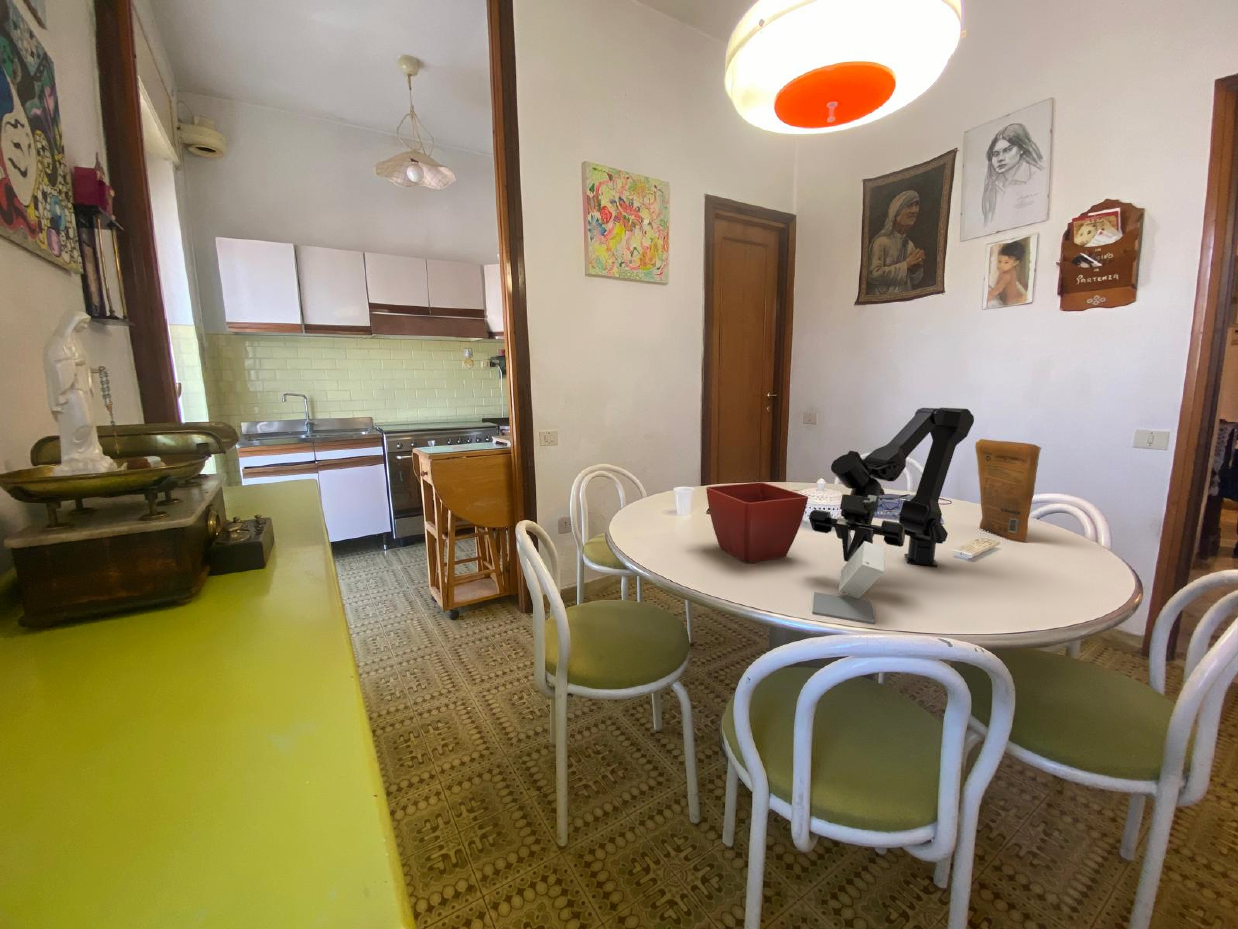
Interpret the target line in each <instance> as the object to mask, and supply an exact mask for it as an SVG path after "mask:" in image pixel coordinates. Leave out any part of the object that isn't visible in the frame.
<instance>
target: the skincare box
mask: <svg viewBox="0 0 1238 929" xmlns="http://www.w3.org/2000/svg"><path fill="white" fill-rule="evenodd" d="M885 555H886V548H885V547H883V546H881V545H877V544H875V543H873V544H872V543H869V542H866V541H864V542H863V544H862V545H861V546H860V547H859V548H858V550H857V551H856V552H855V553H854V555H853V556H852V557H851V558H850V560H849V561H848V562H847V561H846V563H845V565H844V566H843V567H842V568H841V570H840V576H839V586H838V593H840V594H842V595H846V597H851V598H858V599H861V597H862V596H864V594H865V593H866V592H867V591H868V590H869V589H870V588H871V587H872V585H874V584H875V582H876V581H877V580H878V579H879V578H880V577H881V576H882V575H883V574H884V573H885V565H886V563H885V562H886V557H885Z"/></svg>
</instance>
